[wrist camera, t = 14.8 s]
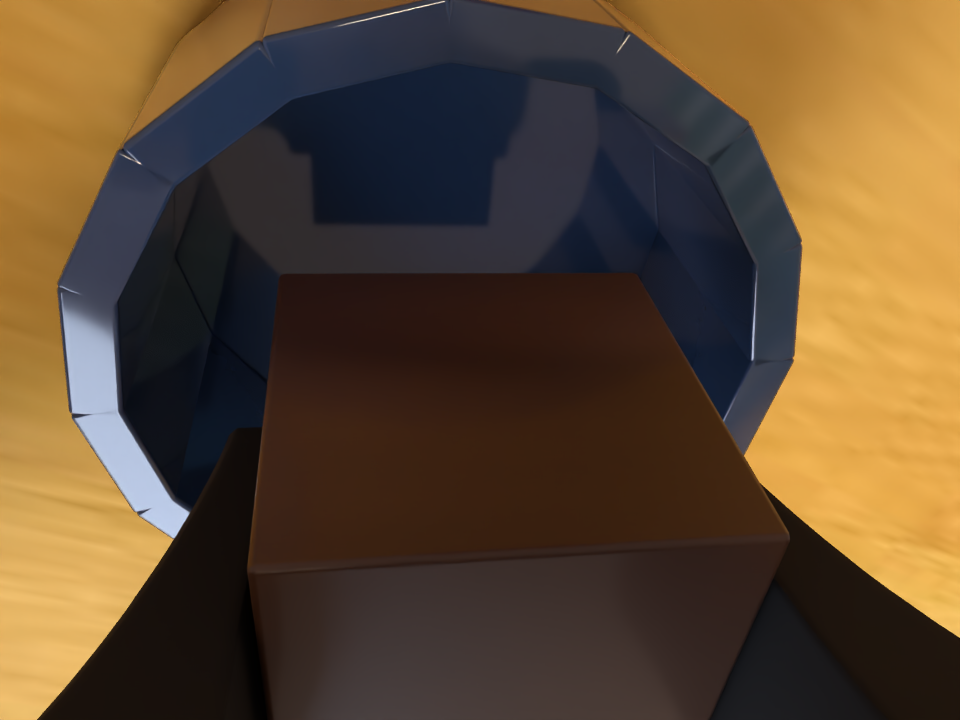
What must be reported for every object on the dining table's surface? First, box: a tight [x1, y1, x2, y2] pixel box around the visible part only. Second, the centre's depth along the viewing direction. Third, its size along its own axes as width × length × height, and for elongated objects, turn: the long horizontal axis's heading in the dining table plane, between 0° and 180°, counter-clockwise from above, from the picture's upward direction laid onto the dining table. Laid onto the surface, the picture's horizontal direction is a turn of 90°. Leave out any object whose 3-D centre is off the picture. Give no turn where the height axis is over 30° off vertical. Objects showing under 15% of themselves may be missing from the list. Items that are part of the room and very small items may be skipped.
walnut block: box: [247, 273, 790, 720], centre depth 11 cm, size 5×5×5 cm
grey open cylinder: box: [57, 0, 802, 539], centre depth 15 cm, size 12×12×5 cm
